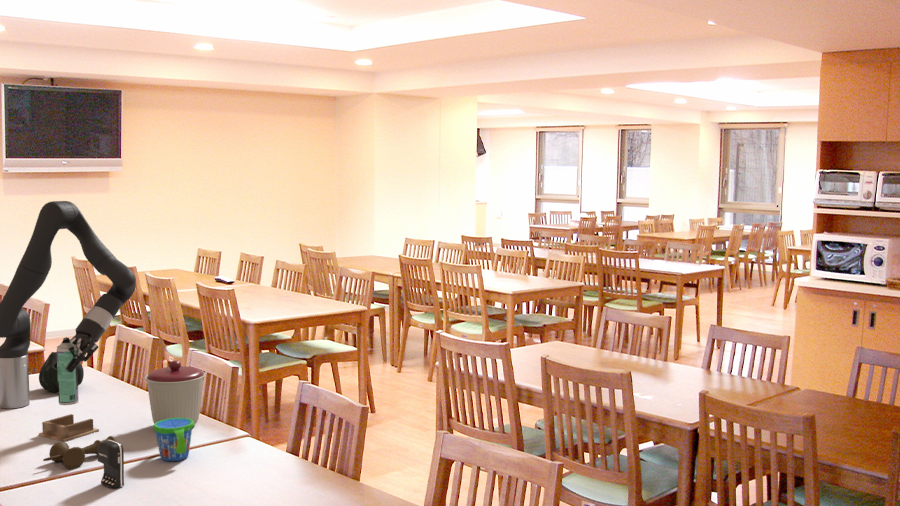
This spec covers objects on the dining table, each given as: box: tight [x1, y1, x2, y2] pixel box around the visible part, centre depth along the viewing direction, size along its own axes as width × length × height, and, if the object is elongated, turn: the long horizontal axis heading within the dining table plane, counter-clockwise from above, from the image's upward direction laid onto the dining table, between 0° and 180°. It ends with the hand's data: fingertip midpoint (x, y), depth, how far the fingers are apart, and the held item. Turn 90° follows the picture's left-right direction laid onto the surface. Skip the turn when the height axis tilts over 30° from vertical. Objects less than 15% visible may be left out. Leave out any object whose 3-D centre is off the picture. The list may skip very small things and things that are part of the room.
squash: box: [38, 351, 85, 393], centre depth 300 cm, size 14×15×15 cm
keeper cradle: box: [38, 413, 100, 443], centre depth 252 cm, size 12×12×4 cm
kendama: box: [42, 435, 117, 470], centre depth 228 cm, size 6×10×20 cm
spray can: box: [56, 337, 79, 406], centre depth 250 cm, size 6×6×20 cm
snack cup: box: [153, 418, 195, 462], centre depth 231 cm, size 16×10×10 cm
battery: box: [96, 440, 125, 489], centre depth 210 cm, size 7×4×11 cm, turn 54°
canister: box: [144, 360, 206, 426], centre depth 259 cm, size 18×18×21 cm
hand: (62, 369), depth 248 cm, fingers closed on spray can, 5 cm apart
